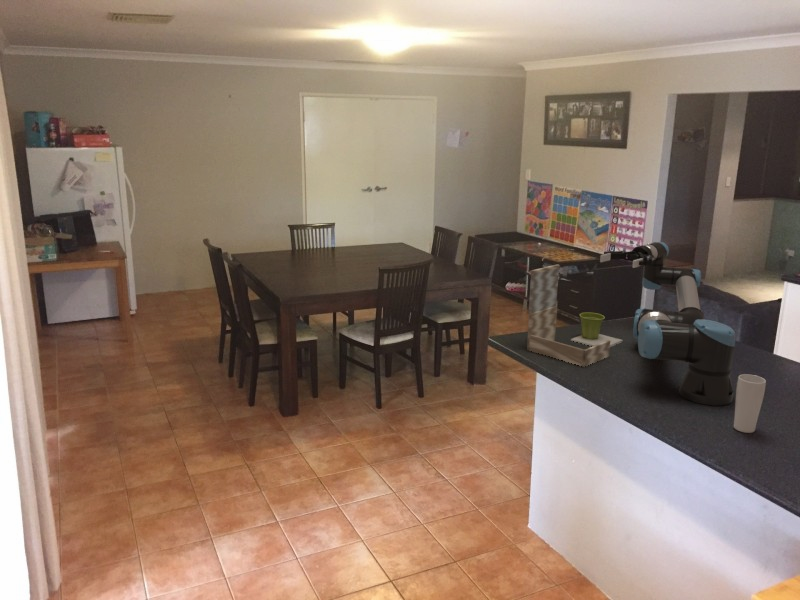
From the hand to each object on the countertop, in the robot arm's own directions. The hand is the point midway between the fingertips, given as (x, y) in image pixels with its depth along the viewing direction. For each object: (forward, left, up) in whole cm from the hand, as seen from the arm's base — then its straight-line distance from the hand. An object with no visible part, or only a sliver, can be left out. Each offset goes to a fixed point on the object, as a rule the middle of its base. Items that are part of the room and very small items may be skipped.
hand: (617, 261), depth 252 cm
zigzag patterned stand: (-19, +23, -30) cm, 42 cm away
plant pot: (-3, +9, -30) cm, 31 cm away
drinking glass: (-82, -7, -30) cm, 88 cm away
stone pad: (-6, +7, -30) cm, 32 cm away
